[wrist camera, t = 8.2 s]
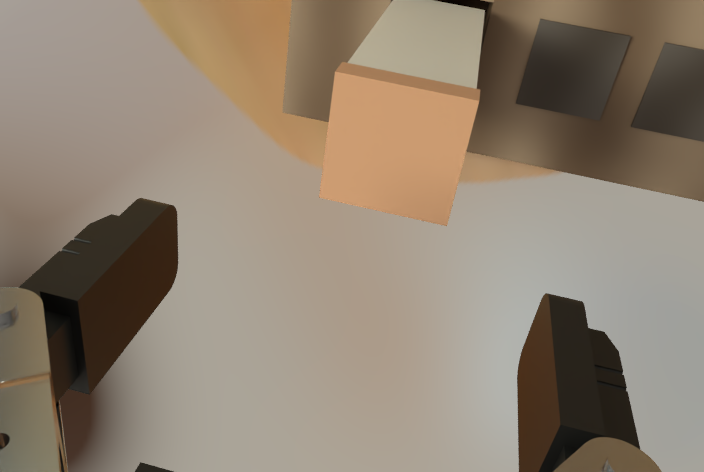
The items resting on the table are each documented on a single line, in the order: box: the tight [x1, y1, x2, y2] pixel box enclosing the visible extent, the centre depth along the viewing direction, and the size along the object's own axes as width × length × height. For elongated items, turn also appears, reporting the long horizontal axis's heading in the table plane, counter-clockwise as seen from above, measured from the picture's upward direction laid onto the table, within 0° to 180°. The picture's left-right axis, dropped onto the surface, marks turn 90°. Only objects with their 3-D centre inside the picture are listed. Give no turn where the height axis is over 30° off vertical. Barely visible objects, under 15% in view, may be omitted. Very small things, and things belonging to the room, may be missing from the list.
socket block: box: [283, 0, 704, 202], centre depth 32 cm, size 22×10×6 cm, turn 82°
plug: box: [319, 0, 485, 226], centre depth 24 cm, size 4×4×12 cm
